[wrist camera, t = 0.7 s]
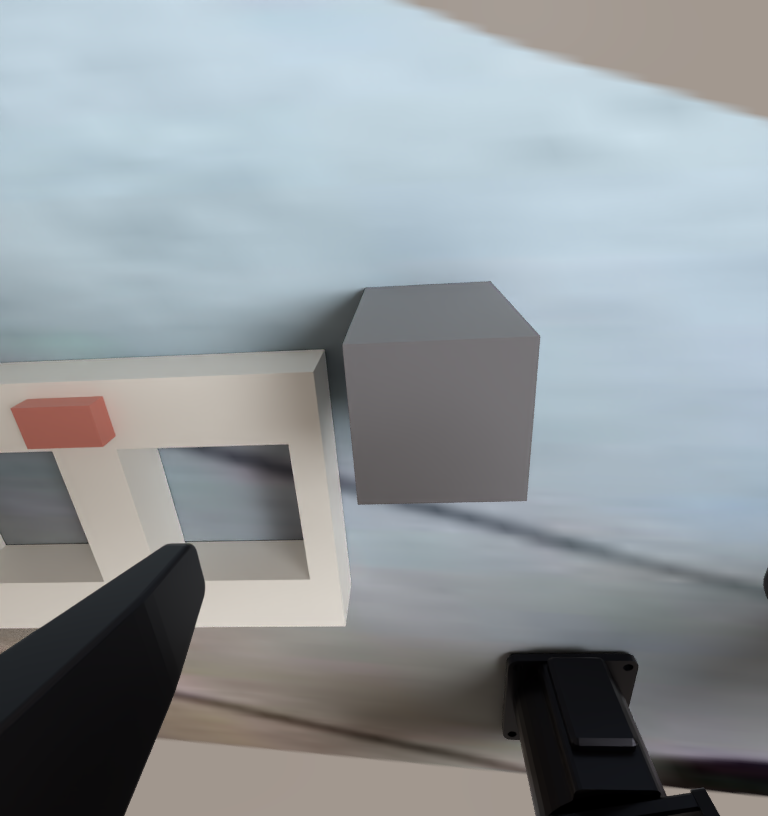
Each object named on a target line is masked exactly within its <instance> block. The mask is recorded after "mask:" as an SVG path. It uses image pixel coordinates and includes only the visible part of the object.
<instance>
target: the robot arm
mask: <svg viewBox="0 0 768 816" xmlns="http://www.w3.org/2000/svg"><path fill="white" fill-rule="evenodd" d="M763 586H764V591H765V594H766V596H767V598H768V568H767V571H766V574H765V576H764V581H763ZM204 595H205V580H204V576H203V572H202V568H201V565H200V561H199V557H198V553H197V550H196V548H195V546H194V545H193V544H190V543H170V544H166V545H164V546H162V547H161V548H159V549H158V550H156V551H155V552H153V553H152V554H150V555H149V556H147V557H146V558H144V559H143V560H141V561H140V562H138V563H137V564H135V565H134V566H132V567H131V568H129V569H128V570H126V571H125V572H123V573H122V574H120V575H119V576H117V577H116V578H114V579H113V580H111V581H110V582H108V583H107V584H105V585H104V586H102V587H101V588H99V589H98V590H96V591H95V592H93V593H92V594H90V595H89V596H87V597H86V598H84V599H83V600H81V601H80V602H78V603H77V604H75V605H74V606H72V607H71V608H69V609H68V610H66V611H65V612H63V613H62V614H60V615H59V616H57V617H56V618H54V619H53V620H51V621H50V622H48V623H47V624H45V625H43V626H42V627H40V628H39V629H37V630H36V631H34V632H33V633H31V634H30V635H28V636H27V637H25V638H24V639H22V640H21V641H19V642H18V643H16V644H15V645H13V646H12V647H10V648H9V649H7V650H6V651H4V652H3V653H1V654H0V816H124V815H125V812H126V810H127V808H128V805H129V803H130V800H131V798H132V796H133V793H134V791H135V788H136V786H137V784H138V781H139V779H140V776H141V774H142V771H143V769H144V767H145V764H146V762H147V759H148V757H149V755H150V752H151V750H152V747H153V745H154V742H155V740H156V738H157V735H158V733H159V730H160V728H161V726H162V723H163V721H164V718H165V716H166V713H167V711H168V709H169V706H170V703H171V701H172V698H173V696H174V693H175V690H176V687H177V684H178V681H179V678H180V675H181V672H182V668H183V665H184V662H185V659H186V655H187V652H188V649H189V645H190V642H191V639H192V635H193V632H194V629H195V625H196V622H197V619H198V615H199V612H200V609H201V606H202V602H203V599H204ZM637 671H638V664H637V662H636V660H635V658H634V656H633V655H631V654H513V655H511V656H509V657H508V659H507V664H506V678H505V692H504V705H503V719H502V730H503V735H504V737H505V738H507V739H511V740H520V742H521V747H522V752H523V757H524V762H525V767H526V771H527V776H528V781H529V785H530V791H531V796H532V800H533V805H534V810H535V815H536V816H720V815H719V813H718V812H717V810H716V808H715V806H714V804H713V803H712V801H711V799H710V797H709V796H708V794H707V792H706V790H705V788H699V789H692V790H691V793H686V794H679V795H673V796H666V793H665V791H664V789H663V786H662V784H661V782H660V779H659V777H658V775H657V772H656V770H655V768H654V765H653V763H652V761H651V758H650V756H649V754H648V751H647V749H646V747H645V744H644V742H643V740H642V737H641V735H640V733H639V730H638V728H637V726H636V723H635V721H634V719H633V716H632V714H631V712H630V709H629V704H630V700H631V696H632V691H633V687H634V683H635V679H636V675H637Z"/></svg>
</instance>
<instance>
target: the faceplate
mask: <svg viewBox="0 0 768 816" xmlns="http://www.w3.org/2000/svg"><path fill="white" fill-rule="evenodd" d="M279 444H288V445H289V452H290V458H291V464H292V470H293V477H294V483H295V489H296V495H297V501H298V508H299V514H300V520H301V526H302V533H303V539H304V540H277V541H219V542H185V540H184V537H183V534H182V530H181V527H180V523H179V520H178V517H177V513H176V510H175V506H174V503H173V499H172V496H171V493H170V489H169V486H168V482H167V479H166V475H165V472H164V469H163V465H162V462H161V458H160V455H159V452H158V448H178V447H212V446H245V445H279ZM45 451H52V452H53V455H54V457H55V460H56V462H57V465H58V467H59V470H60V472H61V475H62V477H63V480H64V482H65V485H66V487H67V490H68V492H69V495H70V497H71V500H72V502H73V505H74V507H75V510H76V512H77V515H78V517H79V520H80V522H81V525H82V527H83V530H84V532H85V535H86V537H87V540H88V542H89V544H45V545H6V544H5V542H4V540H3V538H2V536H1V534H0V628H40V627H42V626H43V625H45V624H47V623H48V622H50V621H51V620H53V619H54V618H56V617H57V616H59V615H60V614H62V613H63V612H65V611H66V610H68V609H69V608H71V607H72V606H74V605H75V604H77V603H78V602H80V601H81V600H83V599H84V598H86V597H87V596H89V595H90V594H92V593H93V592H95V591H96V590H98V589H99V588H101V587H102V586H104V585H105V584H107V583H108V582H110V581H111V580H113V579H114V578H116V577H117V576H119V575H120V574H122V573H123V572H125V571H126V570H128V569H129V568H131V567H132V566H134V565H135V564H137V563H138V562H140V561H141V560H143V559H144V558H146V557H147V556H149V555H150V554H152V553H153V552H155V551H156V550H158V549H159V548H161V547H162V546H164V545H166V544H170V543H190V544H193V545H194V546H195V548H196V550H197V553H198V557H199V561H200V565H201V568H202V572H203V576H204V580H205V595H204V599H203V602H202V606H201V609H200V612H199V615H198V619H197V622H196V625H195V627H305V626H346V619H347V612H348V604H349V597H350V590H351V576H350V567H349V559H348V550H347V541H346V532H345V523H344V515H343V506H342V497H341V488H340V479H339V470H338V462H337V453H336V444H335V435H334V426H333V418H332V409H331V400H330V391H329V382H328V373H327V365H326V356H325V349H318V350H295V351H271V352H247V353H224V354H200V355H176V356H153V357H129V358H105V359H82V360H58V361H35V362H11V363H0V453H12V452H45Z"/></svg>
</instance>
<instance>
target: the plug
mask: <svg viewBox="0 0 768 816" xmlns="http://www.w3.org/2000/svg"><path fill="white" fill-rule="evenodd" d="M539 345H540V335H539V334H538V333H537V332H536V331H535V330H534V329H533V328H532V326H531V325H530V324H529V323H528V322H527V321H526V320H525V319H524V318H523V317H522V315H521V314H520V313H519V312H518V311H517V310H516V309H515V308H514V307H513V306H512V304H511V303H510V302H509V301H508V300H507V299H506V298H505V297H504V296H503V295H502V293H501V292H500V291H499V290H498V289H497V288H496V287H495V286H494V285H493V284H492V282H491V281H488V282H468V283H448V284H428V285H408V286H388V287H368V288H365V291H364V293H363V295H362V298H361V300H360V303H359V305H358V308H357V310H356V312H355V315H354V317H353V320H352V322H351V325H350V327H349V329H348V332H347V334H346V337H345V339H344V342H343V344H342V347H343V357H344V367H345V378H346V388H347V398H348V409H349V419H350V429H351V439H352V450H353V460H354V470H355V481H356V491H357V501H358V505H360V504H407V503H454V502H501V501H527V491H528V479H529V467H530V454H531V442H532V430H533V418H534V406H535V393H536V381H537V369H538V357H539Z"/></svg>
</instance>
